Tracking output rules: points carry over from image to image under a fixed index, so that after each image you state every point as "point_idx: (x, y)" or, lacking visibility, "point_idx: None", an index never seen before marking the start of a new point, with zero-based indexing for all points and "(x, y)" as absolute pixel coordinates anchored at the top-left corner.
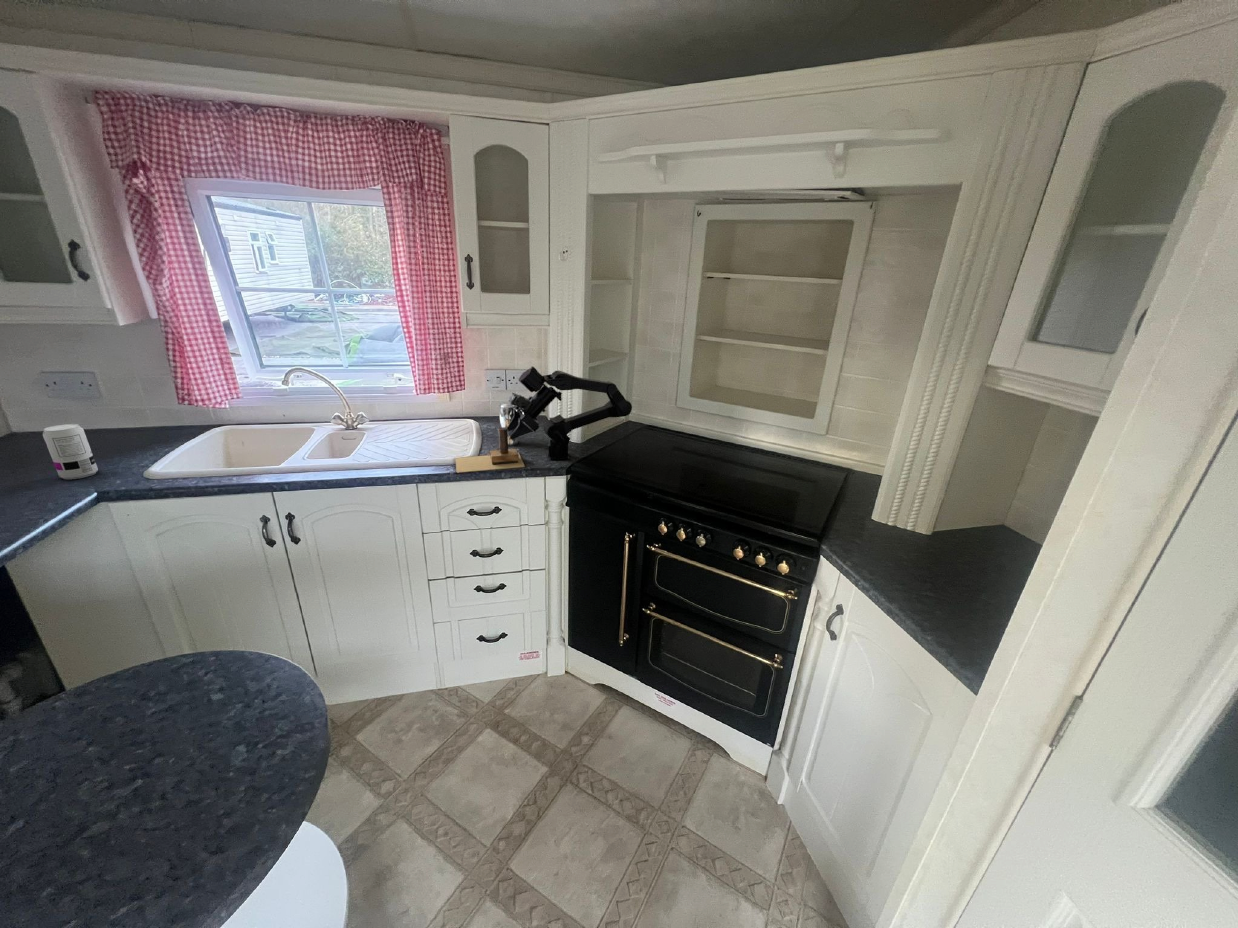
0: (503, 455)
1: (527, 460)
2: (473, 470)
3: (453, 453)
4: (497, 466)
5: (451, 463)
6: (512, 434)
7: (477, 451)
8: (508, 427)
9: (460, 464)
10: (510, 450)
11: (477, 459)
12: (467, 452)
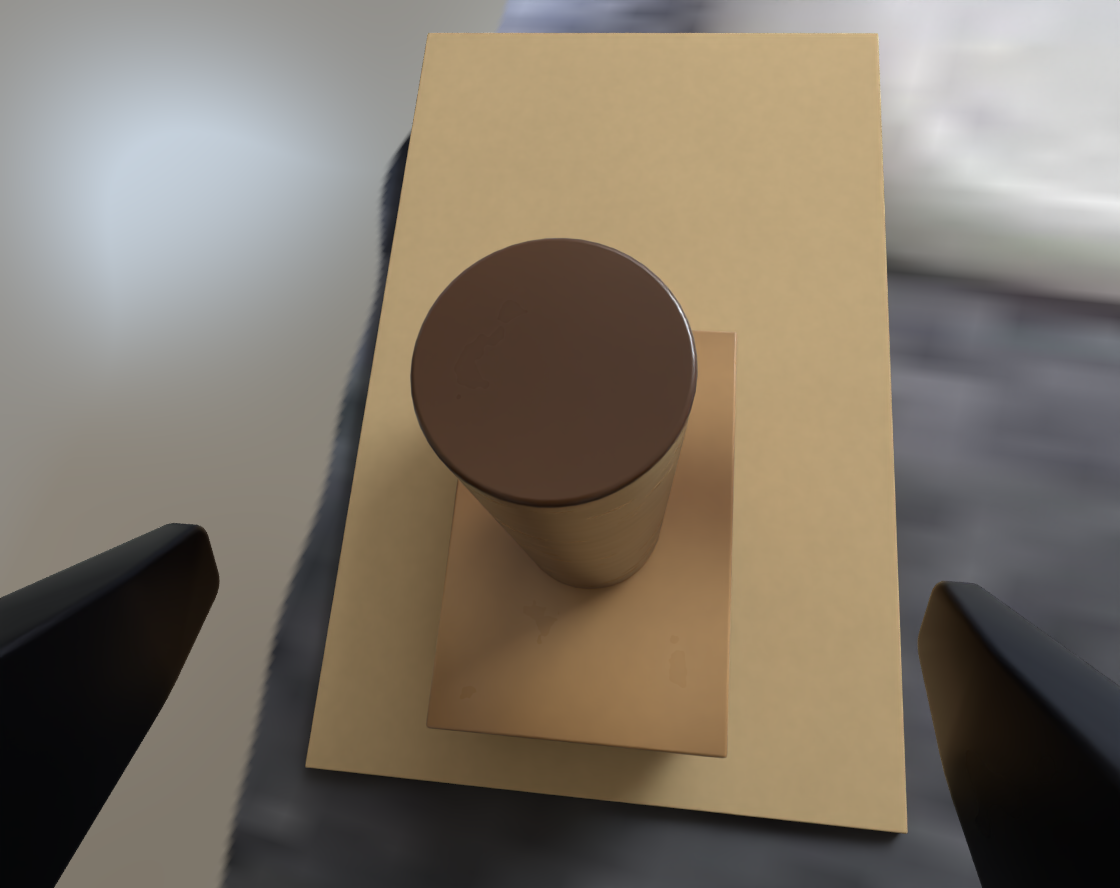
0: (457, 484)
1: (561, 883)
2: (416, 172)
3: (1076, 30)
4: None
5: (731, 5)
6: (69, 575)
7: (1116, 280)
8: (966, 642)
9: (642, 70)
10: (658, 639)
11: (759, 241)
12: (1092, 168)
